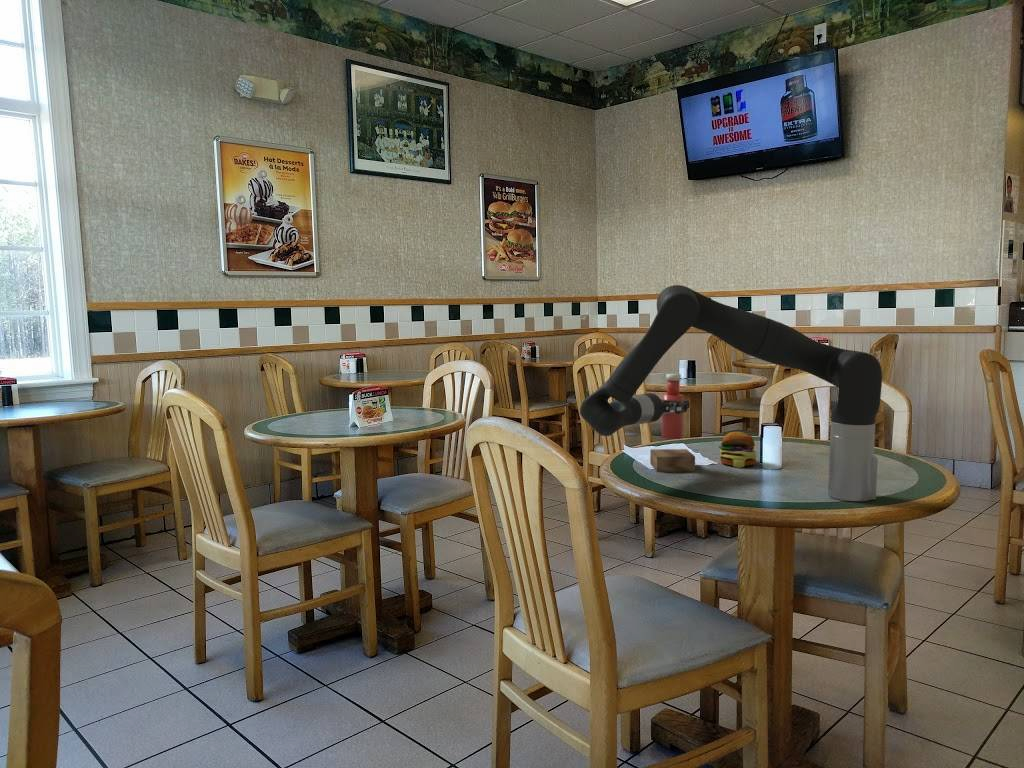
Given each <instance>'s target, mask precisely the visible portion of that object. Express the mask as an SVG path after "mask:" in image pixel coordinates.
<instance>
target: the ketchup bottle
mask: <svg viewBox="0 0 1024 768" xmlns="http://www.w3.org/2000/svg"><path fill="white" fill-rule="evenodd" d="M681 375H682V374H681V373H666V374H665V377H666V378H665V380H666V384H667V385H666V393H663V394H662V397H661V399H665V400H675V401H685V399H684V397H685V396H684V394H681V393H680V381H681V380H682V379H681V378H682V376H681ZM669 403H670V405H671V402H669ZM683 437H684V413H680V414H675V413H667V414H665V415H662V416H661V438H663V439H666V440H667V439H668V440H681V439H683Z"/></svg>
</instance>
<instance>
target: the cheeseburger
mask: <svg viewBox="0 0 1024 768" xmlns="http://www.w3.org/2000/svg"><path fill="white" fill-rule="evenodd" d="M720 445H721V446H718V448H719V451H718V453H719V455H720V456H719V458H720V463H722V464H723V465H724V464H725V465H729V466H733V468H734V467H735V468H738V469H739V468H740V469H741V468H744V467H747V466H751V465H752V466H753V465H755V464H756V461H757V460H756V458H757V455H756V454H757V451H756V449H755V445H756V444H755V441H754V438H753V437H752V436H751V435H750V434H748V433H745V432H742V431H730V432H728V433H726V435H725V436H724V437H723V439H722V441H721V443H720Z"/></svg>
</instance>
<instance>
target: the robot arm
mask: <svg viewBox="0 0 1024 768" xmlns="http://www.w3.org/2000/svg"><path fill="white" fill-rule="evenodd" d="M656 311H657V313H656V315H655V317H654V319H653V321H652V323H651V325H650V327H649V329H647V331H646V333H645V335H644V336H642V338H641V339H640V341H639V342H638V343H637V344H636V346H634V347H633V348H632V349H631V350H630V351H629V352H628V353H627V354H626V355H625V356H624V358H622V360H621V361H620V362H619V364H617V366H616V368H615V369H614V371H613V372H612V373H611V374H610V375H609V378H608V379H607V380H606V381H605V382H604V383H603V384H602V385H601V386H600V387H598V388H596V390H595V391H594V392H592V393H591V394H590V395H589V396H587V397H586V398H584V400H583V401H582V402H581V405H580V408H579V414H580V416H581V418H582V419H583V420H584V421H585V422H586V423H587V424H588V425H589V426H590V427H591V428H592V429H593V430H594V431H595V433H597V434H598V435H600V436H604V437H610V436H612V435H614V434H615V433H616V432H618V431H619V430H620V429H621V428H624V427H627V426H631V425H635V426H636V425H642V424H648V423H654V422H657V421H658V420H660V418H662V415H665V414H667V413H675V414H680V413H683V414H684V413H686V412H688V409H689V408H690V401H689V400H685V399H684V401H675V400H665V399H662V398H660V397H659V396H658V395H657V394H655V393H652V392H647V393H640V394H636V392H637V391H638V390H639V388H640V387H641V386H642V384H643V383H644V382H645V381H646V379H647V378H648V376H649V375H650V374H651V372H652V371H653V370H654V368H655V366H657V364H658V363H659V362H660V360H661V359H662V358H663V356H664V355H665V354H667V352H668V351H669V349H671V348H672V346H673V345H675V343H676V342H677V341H679V339H680V338H682V337H683V336H684V335H685V334H686V333H687V332H688V331H689V330H690V329H691V328H693V329H694V328H695V329H697V330H701V331H703V332H707V333H708V334H711V335H712V336H714V337H716V338H718V339H719V340H721V341H723V342H725V343H726V344H727V345H729V346H731V347H733V348H734V349H735V350H737V351H740V352H741V353H743V354H746V355H748V356H749V357H750V356H751V357H752V358H753V357H754V358H756V359H759V360H761V361H763V362H764V361H765V362H767V363H770V364H774V365H777V366H782V367H785V368H788V369H789V368H790V369H794V370H800V371H803V372H806V373H808V374H810V375H813V376H814V377H817V378H819V379H821V380H823V381H825V382H827V383H829V384H831V385H832V386H835V388H838V389H837V401H836V404H835V406H834V407H833V408H832V409H831V411H830V429H829V430H830V432H829V433H830V434H829V436H830V437H829V453H828V454H829V455H828V456H829V457H828V460H829V461H828V483H827V495H828V496H829V497H831V498H833V499H837V500H842V501H847V502H867V501H871V500H876V499H877V484H878V483H877V481H878V480H877V479H878V465H879V464H878V461H879V460H878V457H877V456H875V440H876V439H875V436H876V435H875V434H876V422H877V421H876V419H877V418H876V417H877V416H878V413H879V411H880V408H881V397H882V386H883V385H882V384H883V372H882V371H883V369H882V366H881V363H880V361H879V360H878V359H877V357H875V356H874V355H873V354H871V353H867V352H864V351H858V350H851V349H844V348H839V347H835V346H832V345H830V344H829V345H828V344H826V343H821V342H819V341H818V340H817V341H816V340H815V339H812V338H811V337H809V336H807V335H805V334H804V333H802V332H800V331H799V330H797V329H795V328H793V327H791V326H789V325H786V324H784V323H782V322H780V321H777V320H775V319H774V320H773V319H772V318H768V317H766V316H764V315H760V314H757V313H754V312H750V311H749V310H748V311H747V310H745V309H741V308H736V307H734V306H732V305H731V306H730V305H727V304H723V303H721V302H718V301H717V300H715V299H712V298H710V297H708V296H705V295H704V294H701V293H699V292H698V291H695V290H694V289H692V288H690V287H687V286H685V285H682V284H681V285H680V284H676V285H675V284H674V285H670V286H667V287H666V288H664V289H662V290H661V291H660V292H659V294H658V296H657V299H656ZM610 398H612V399H613V400H611V401H610V402H609V399H610ZM669 402H671V405H670V403H669Z"/></svg>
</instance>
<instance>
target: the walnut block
mask: <svg viewBox="0 0 1024 768" xmlns="http://www.w3.org/2000/svg"><path fill="white" fill-rule="evenodd" d="M649 451H650V456H649V457H650V459H649V461H650V464H649V465H651V467H653V469H654V470H655V472H660V473H661V472H663V473H664V472H667V473H668V472H669V473H670V472H672V473H674V472H677V473H678V472H696V456H695V454H693V453H691V452H690V451H689V450H688V449H686V448H684V449H683V448H674V449H671V448H668V449H658V448H657V449H655V448H654V449H650V450H649Z"/></svg>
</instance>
